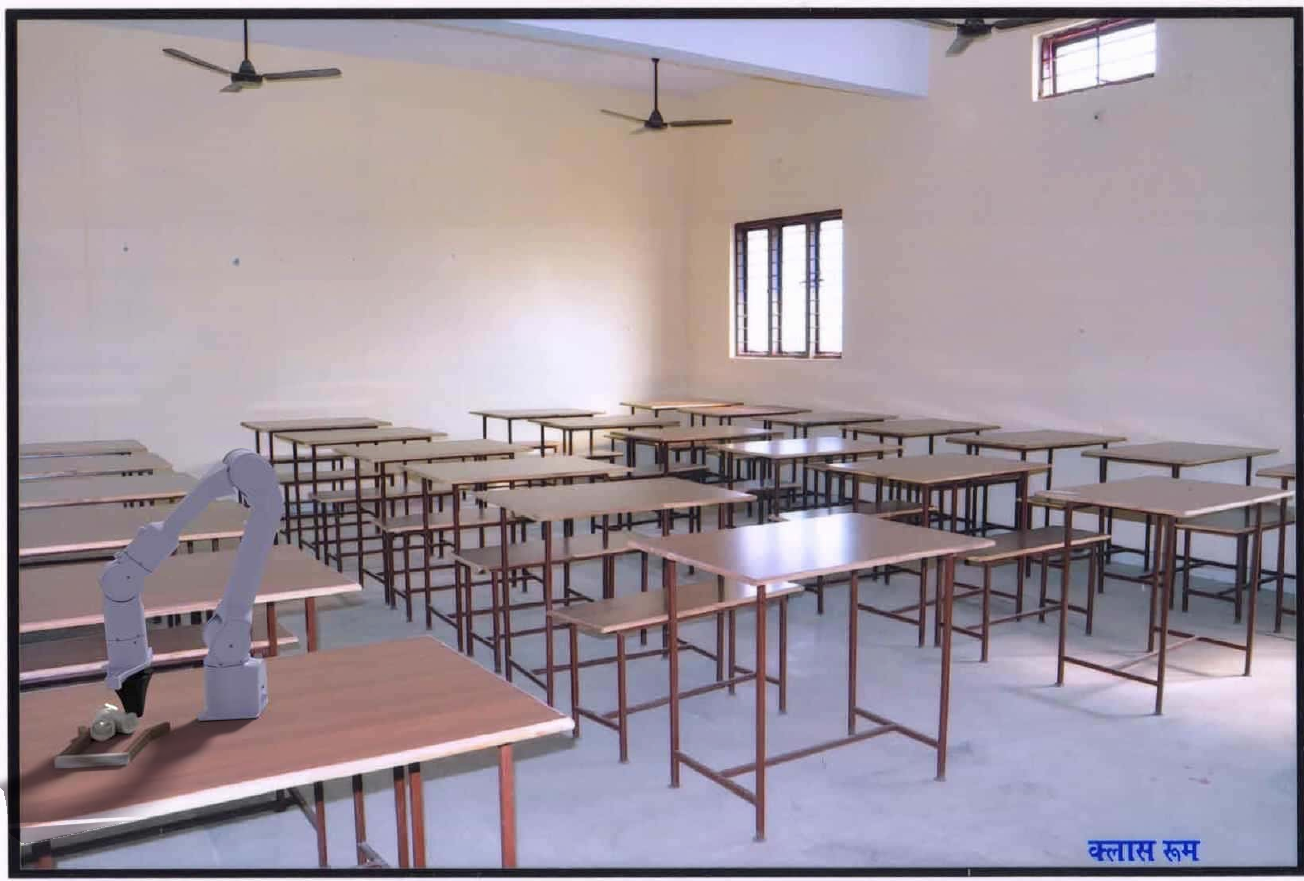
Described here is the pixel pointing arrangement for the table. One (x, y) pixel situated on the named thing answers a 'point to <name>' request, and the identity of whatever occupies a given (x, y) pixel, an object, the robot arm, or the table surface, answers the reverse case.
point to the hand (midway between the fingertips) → (134, 717)
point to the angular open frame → (109, 759)
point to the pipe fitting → (112, 722)
